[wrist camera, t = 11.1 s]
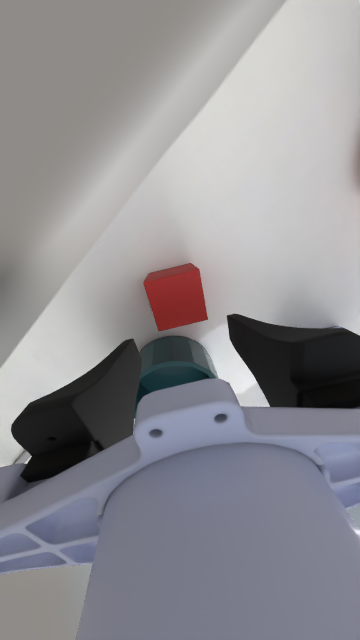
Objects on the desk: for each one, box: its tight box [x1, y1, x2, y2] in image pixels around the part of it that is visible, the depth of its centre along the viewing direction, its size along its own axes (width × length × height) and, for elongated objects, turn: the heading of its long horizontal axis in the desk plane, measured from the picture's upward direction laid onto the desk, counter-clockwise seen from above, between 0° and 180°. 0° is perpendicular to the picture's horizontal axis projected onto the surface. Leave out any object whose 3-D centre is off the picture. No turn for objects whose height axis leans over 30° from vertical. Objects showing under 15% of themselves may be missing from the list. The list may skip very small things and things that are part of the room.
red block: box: [144, 263, 208, 331], centre depth 18 cm, size 5×5×5 cm
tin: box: [134, 336, 218, 419], centre depth 23 cm, size 11×11×6 cm
